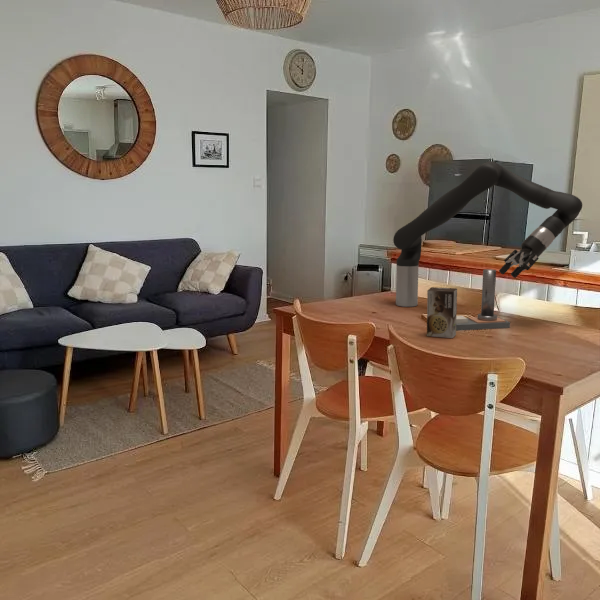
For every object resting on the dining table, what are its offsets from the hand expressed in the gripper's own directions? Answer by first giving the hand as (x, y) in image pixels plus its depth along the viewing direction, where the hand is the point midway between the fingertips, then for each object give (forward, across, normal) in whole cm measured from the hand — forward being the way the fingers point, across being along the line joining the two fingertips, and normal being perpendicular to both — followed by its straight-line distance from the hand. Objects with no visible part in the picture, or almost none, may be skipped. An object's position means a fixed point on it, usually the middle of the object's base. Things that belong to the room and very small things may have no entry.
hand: (506, 274), depth 209 cm
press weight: (+16, 0, +7) cm, 17 cm away
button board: (+21, 0, +5) cm, 22 cm away
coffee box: (+33, +10, -7) cm, 35 cm away
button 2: (+18, 0, +8) cm, 19 cm away
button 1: (+25, 0, -1) cm, 25 cm away
